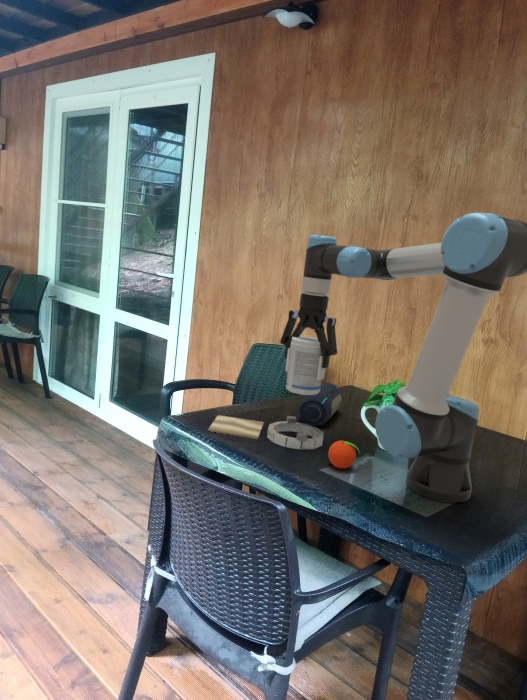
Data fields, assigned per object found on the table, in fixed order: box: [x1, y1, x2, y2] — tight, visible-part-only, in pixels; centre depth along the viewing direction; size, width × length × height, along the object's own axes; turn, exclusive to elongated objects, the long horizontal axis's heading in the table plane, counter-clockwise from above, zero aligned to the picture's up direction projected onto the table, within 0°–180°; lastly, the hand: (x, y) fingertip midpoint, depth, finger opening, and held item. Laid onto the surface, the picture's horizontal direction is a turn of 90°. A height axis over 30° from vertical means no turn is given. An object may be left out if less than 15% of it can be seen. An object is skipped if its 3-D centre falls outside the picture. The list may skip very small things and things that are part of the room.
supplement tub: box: [285, 335, 323, 396], centre depth 157 cm, size 10×10×15 cm
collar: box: [266, 415, 325, 451], centre depth 160 cm, size 16×16×4 cm
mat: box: [207, 414, 265, 440], centre depth 164 cm, size 14×14×1 cm
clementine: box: [327, 439, 361, 469], centre depth 143 cm, size 8×7×7 cm
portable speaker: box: [298, 382, 343, 427], centre depth 183 cm, size 25×10×10 cm, turn 161°
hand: (304, 374), depth 157 cm, fingers closed on supplement tub, 9 cm apart
